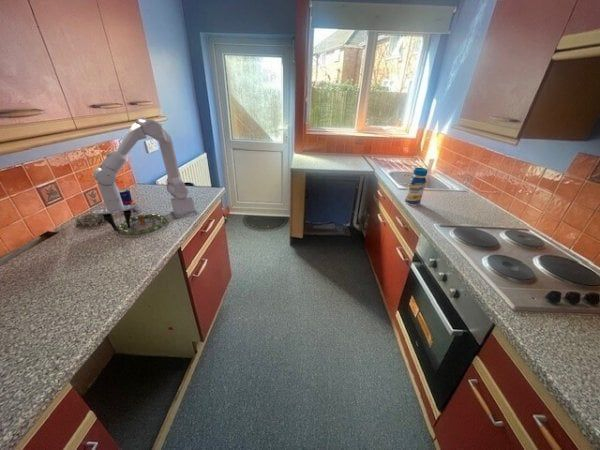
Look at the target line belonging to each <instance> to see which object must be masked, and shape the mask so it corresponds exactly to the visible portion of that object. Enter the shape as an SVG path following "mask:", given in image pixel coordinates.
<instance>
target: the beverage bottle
mask: <svg viewBox="0 0 600 450" xmlns="http://www.w3.org/2000/svg"><path fill="white" fill-rule="evenodd" d="M412 172H413V173H412V176H411V178H410V180H409V183H408V184H407V185H408V187H407V190H406V195H405V199H404V202H405V203H406V204H407V205H409V206H413V207H415V206H419V205H421V201H422V198H423V194H424V191H425V188H426V183H427V179H426V177H427V176H428V172H429V170H428V169H427V168H424V167H414V169H413V171H412Z"/></svg>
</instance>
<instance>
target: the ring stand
mask: <svg viewBox="0 0 600 450" xmlns="http://www.w3.org/2000/svg"><path fill="white" fill-rule="evenodd" d="M137 216H138V215H137ZM138 218H139V219H138V222H139V226H141V227H143V226H146V224H147V223H146V220H145V218H144V216H143V214H139V216H138Z"/></svg>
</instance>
